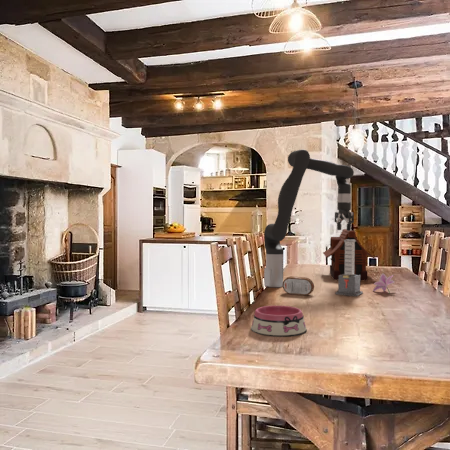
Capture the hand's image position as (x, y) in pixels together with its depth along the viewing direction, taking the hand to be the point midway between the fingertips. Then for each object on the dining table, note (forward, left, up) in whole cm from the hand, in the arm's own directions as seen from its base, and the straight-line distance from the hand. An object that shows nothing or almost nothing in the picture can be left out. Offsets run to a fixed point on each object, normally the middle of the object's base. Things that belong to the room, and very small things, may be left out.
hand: (343, 230), depth 261 cm
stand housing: (-23, -34, -29) cm, 51 cm away
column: (-23, -34, -28) cm, 50 cm away
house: (+15, +15, -30) cm, 36 cm away
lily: (-4, -37, -30) cm, 48 cm away
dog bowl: (-89, -80, -30) cm, 123 cm away
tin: (-47, -26, -30) cm, 61 cm away
